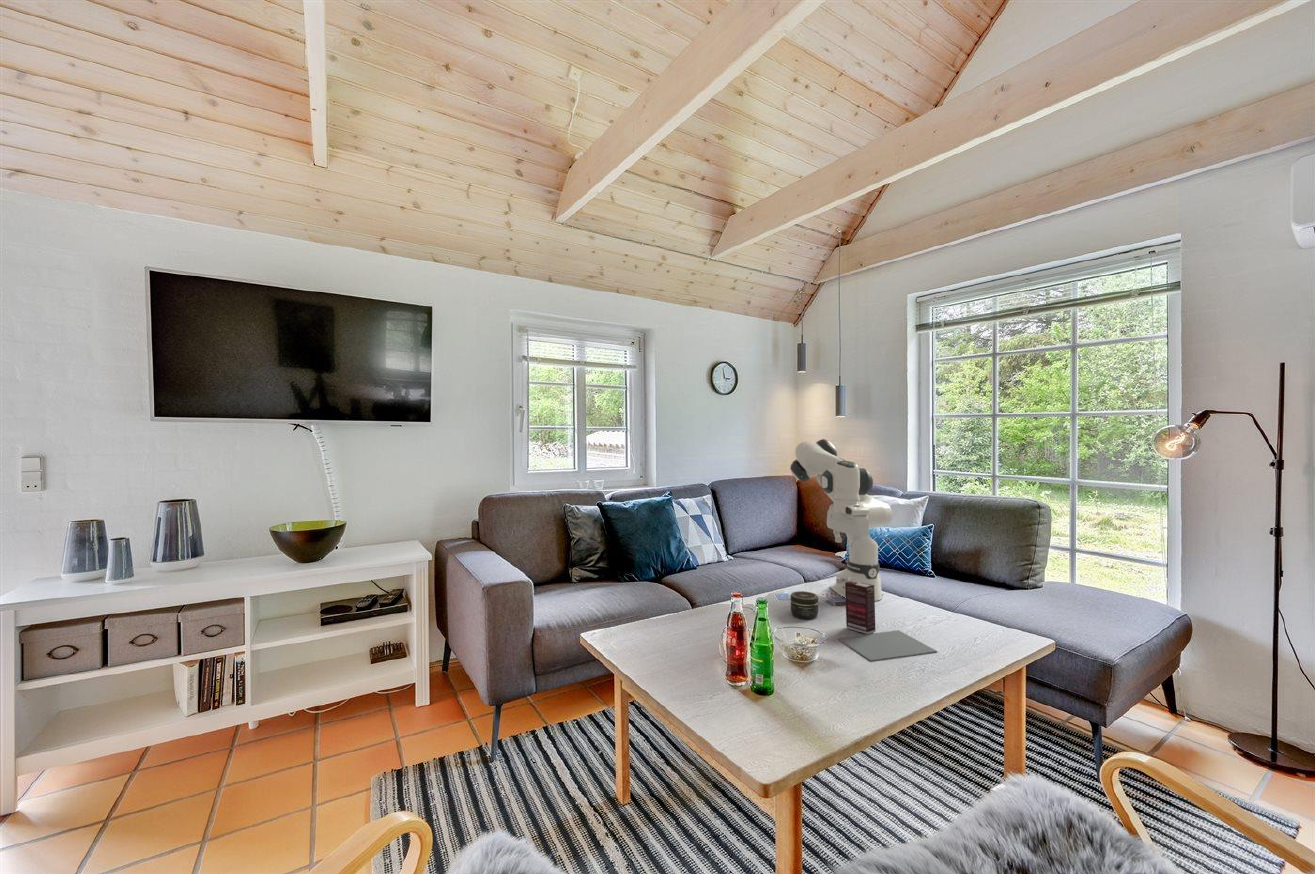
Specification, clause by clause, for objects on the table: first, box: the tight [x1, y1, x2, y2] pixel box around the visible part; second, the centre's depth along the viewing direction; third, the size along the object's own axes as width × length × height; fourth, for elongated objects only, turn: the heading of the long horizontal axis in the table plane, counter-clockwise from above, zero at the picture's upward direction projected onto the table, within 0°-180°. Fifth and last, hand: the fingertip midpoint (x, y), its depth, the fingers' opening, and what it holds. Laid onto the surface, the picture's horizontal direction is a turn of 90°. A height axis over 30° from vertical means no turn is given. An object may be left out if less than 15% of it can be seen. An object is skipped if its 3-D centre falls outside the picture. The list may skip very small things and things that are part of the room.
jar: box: [790, 590, 819, 621], centre depth 194 cm, size 10×10×8 cm
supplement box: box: [845, 581, 876, 634], centre depth 179 cm, size 9×5×16 cm, turn 35°
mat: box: [836, 629, 938, 662], centre depth 167 cm, size 17×24×1 cm
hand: (846, 545), depth 187 cm, fingers open, 8 cm apart
